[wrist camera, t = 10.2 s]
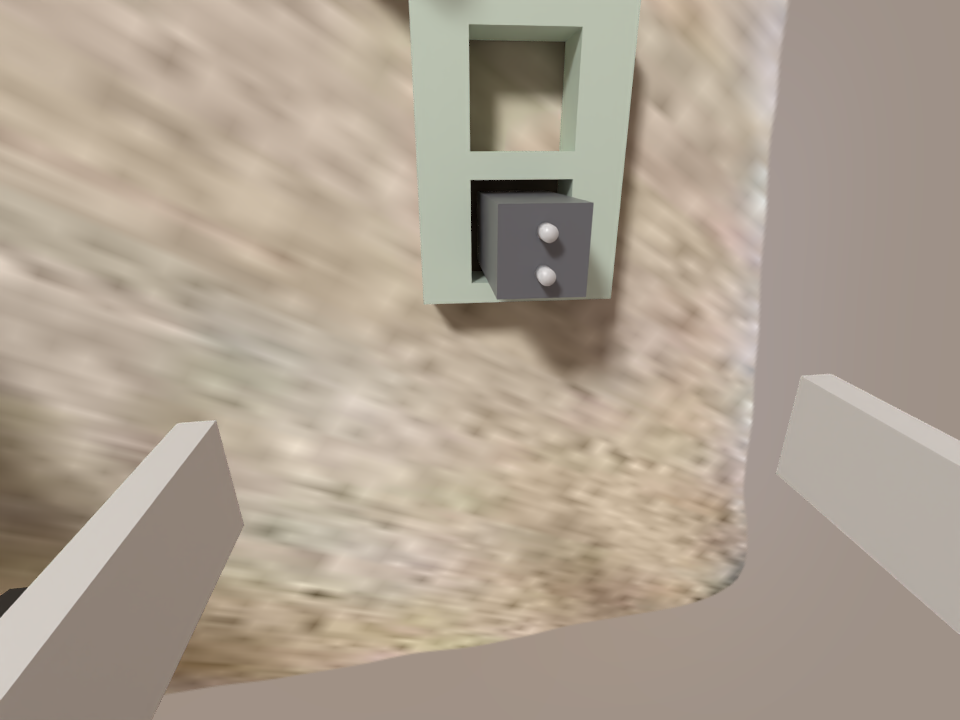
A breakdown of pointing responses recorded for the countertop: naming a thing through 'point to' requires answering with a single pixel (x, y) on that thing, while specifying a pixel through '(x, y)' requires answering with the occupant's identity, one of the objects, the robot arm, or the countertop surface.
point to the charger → (534, 243)
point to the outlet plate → (578, 165)
